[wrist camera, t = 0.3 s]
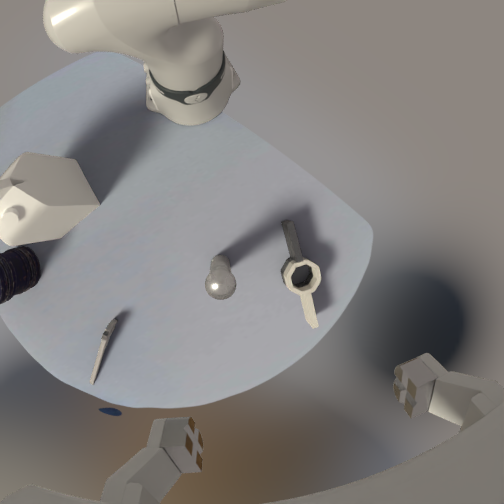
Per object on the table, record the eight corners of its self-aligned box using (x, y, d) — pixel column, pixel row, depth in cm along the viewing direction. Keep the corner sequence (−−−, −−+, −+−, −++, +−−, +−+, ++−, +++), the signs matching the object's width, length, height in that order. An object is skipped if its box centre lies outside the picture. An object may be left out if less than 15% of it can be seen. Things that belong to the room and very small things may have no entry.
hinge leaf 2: (278, 261, 57) (283, 266, 52) (308, 252, 58) (316, 256, 53) (294, 323, 60) (300, 333, 55) (322, 313, 60) (330, 322, 55)
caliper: (114, 317, 56) (104, 328, 49) (118, 319, 56) (108, 331, 50) (90, 381, 57) (81, 395, 51) (94, 384, 58) (85, 398, 51)
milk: (76, 159, 49) (-4, 137, 24) (100, 204, 52) (23, 207, 26) (38, 194, 49) (-46, 194, 24) (60, 238, 51) (-21, 261, 26)
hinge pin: (205, 256, 55) (201, 274, 41) (227, 249, 56) (231, 265, 41) (212, 277, 56) (210, 303, 42) (234, 271, 57) (239, 294, 42)
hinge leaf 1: (268, 225, 56) (272, 227, 51) (299, 216, 56) (307, 217, 51) (285, 291, 58) (291, 299, 53) (315, 281, 59) (323, 288, 54)
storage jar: (13, 240, 50) (-28, 250, 35) (43, 252, 51) (2, 266, 37) (10, 280, 51) (-28, 297, 36) (39, 294, 53) (1, 316, 38)
